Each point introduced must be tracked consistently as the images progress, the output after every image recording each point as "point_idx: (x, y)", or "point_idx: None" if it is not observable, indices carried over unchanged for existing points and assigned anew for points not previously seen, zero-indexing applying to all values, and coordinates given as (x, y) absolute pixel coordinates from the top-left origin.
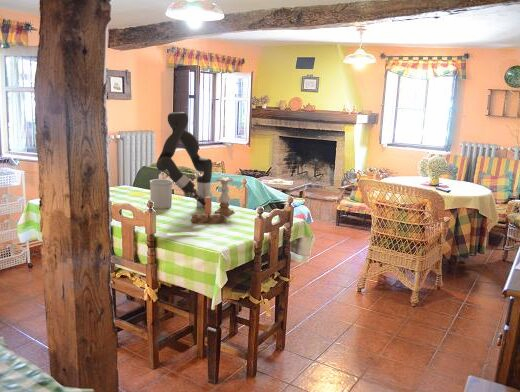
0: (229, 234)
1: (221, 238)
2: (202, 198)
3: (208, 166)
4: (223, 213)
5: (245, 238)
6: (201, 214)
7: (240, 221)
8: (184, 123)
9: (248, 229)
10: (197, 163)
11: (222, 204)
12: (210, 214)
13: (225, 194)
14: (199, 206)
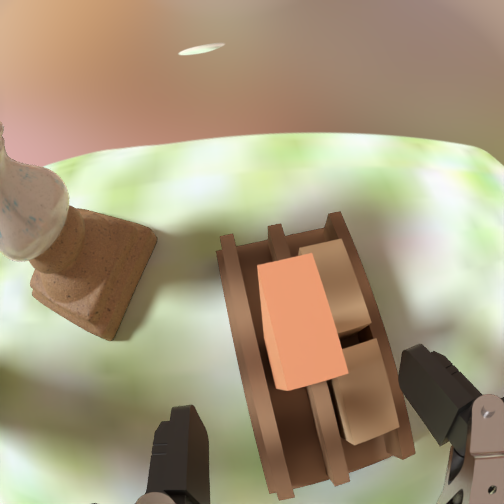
0: (466, 207)
1: None
2: (191, 447)
3: None
4: (123, 258)
5: (472, 156)
6: (368, 402)
7: (220, 172)
8: None
9: (363, 138)
10: None
11: (64, 241)
12: (349, 320)
13: (19, 170)
14: None
